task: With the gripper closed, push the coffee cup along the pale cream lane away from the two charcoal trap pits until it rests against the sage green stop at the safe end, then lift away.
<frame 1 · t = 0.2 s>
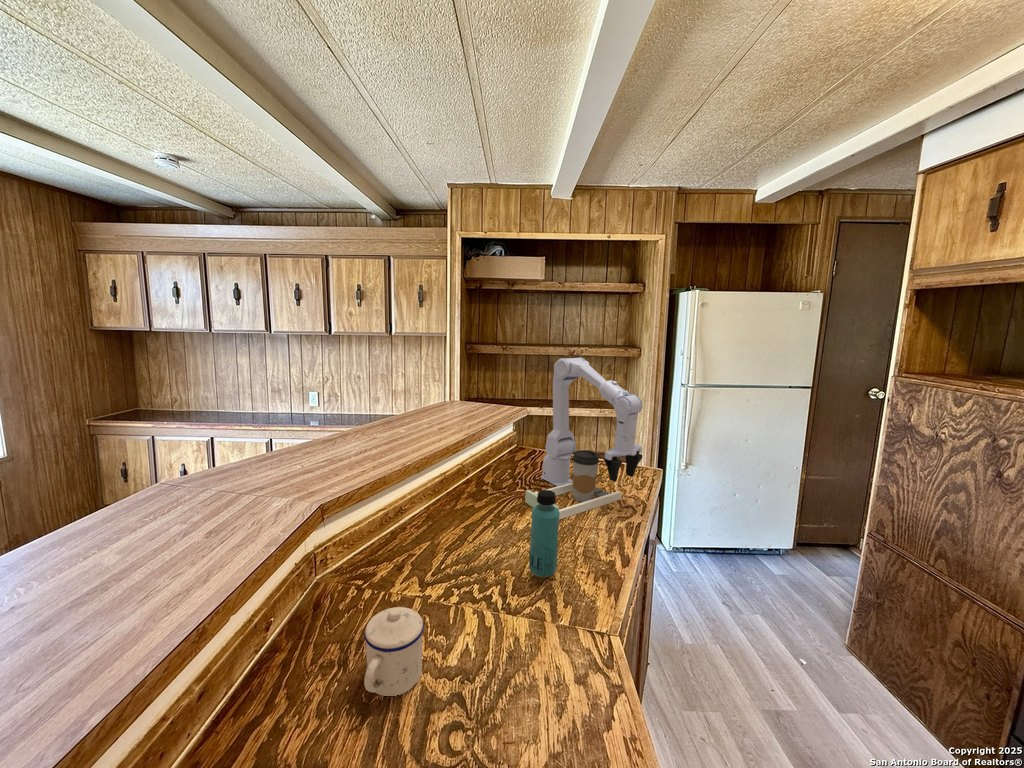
hand: (621, 478, 134), 10 cm above the table, tool pointing down, fingers open, 7 cm apart
coffee cup: (582, 498, 142), on the table
trap pits: (598, 493, 146), on the table
teacup with lid: (389, 683, 70), on the table
lane box: (573, 501, 140), on the table
beverage bottle: (541, 576, 100), on the table
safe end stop: (541, 511, 132), on the table
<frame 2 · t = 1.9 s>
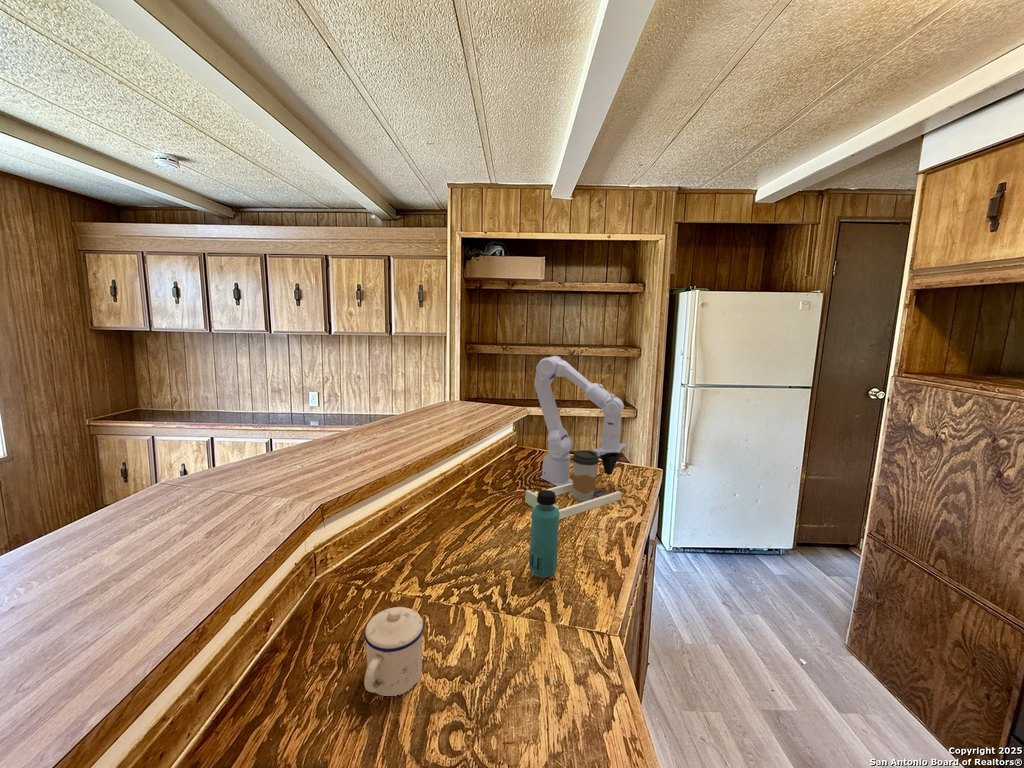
hand: (608, 473, 147), 6 cm above the table, tool pointing down, fingers closed
nothing on the table moved.
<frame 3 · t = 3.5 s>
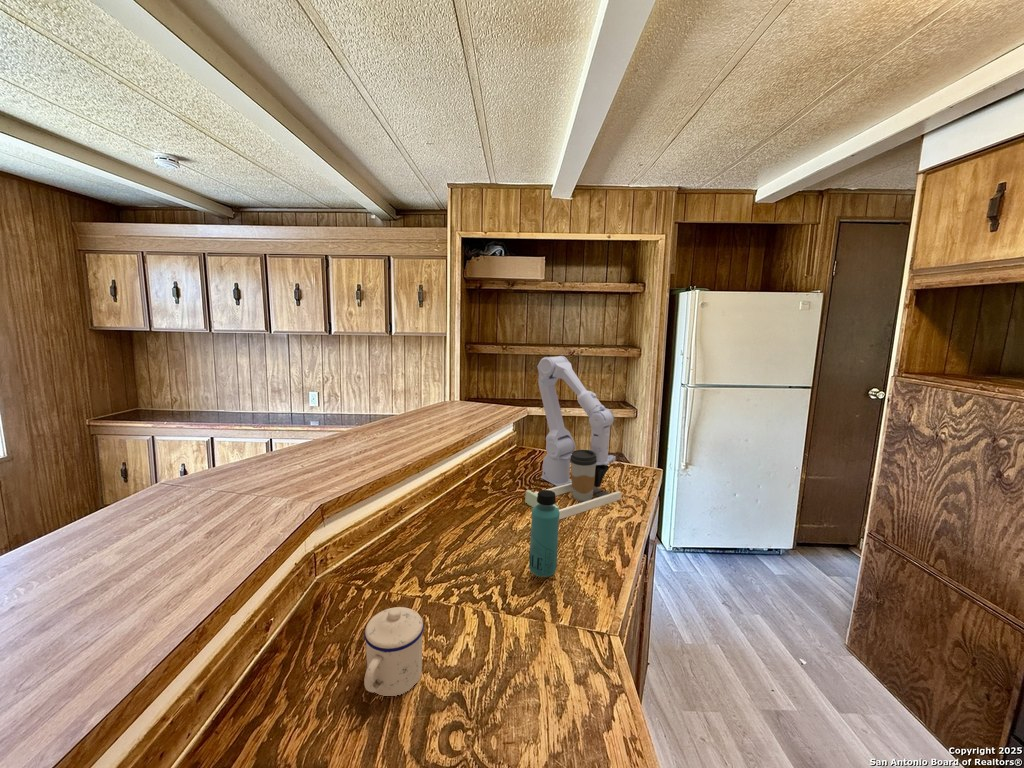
hand: (596, 486, 145), 3 cm above the table, tool pointing down, fingers closed
coffee cup: (582, 498, 142), on the table, touching gripper
everything else where it was.
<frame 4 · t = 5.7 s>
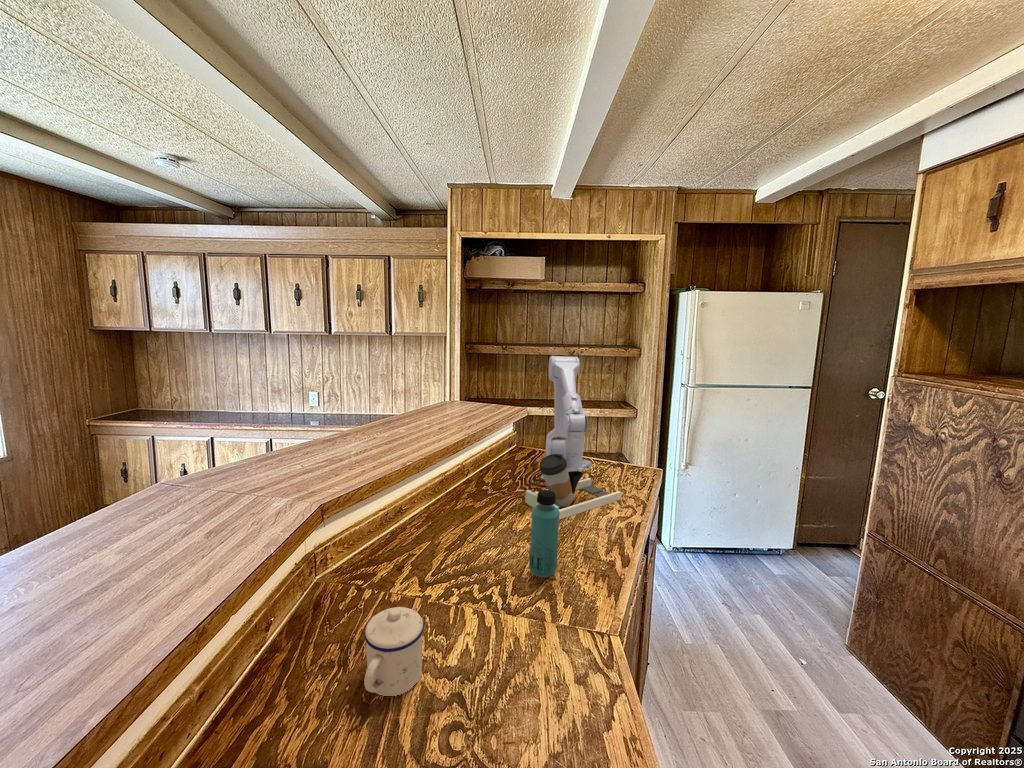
hand: (571, 493, 138), 3 cm above the table, tool pointing down, fingers closed, pressing on coffee cup
coffee cup: (563, 501, 137), point 1 cm above the table, touching gripper
everything else where it was.
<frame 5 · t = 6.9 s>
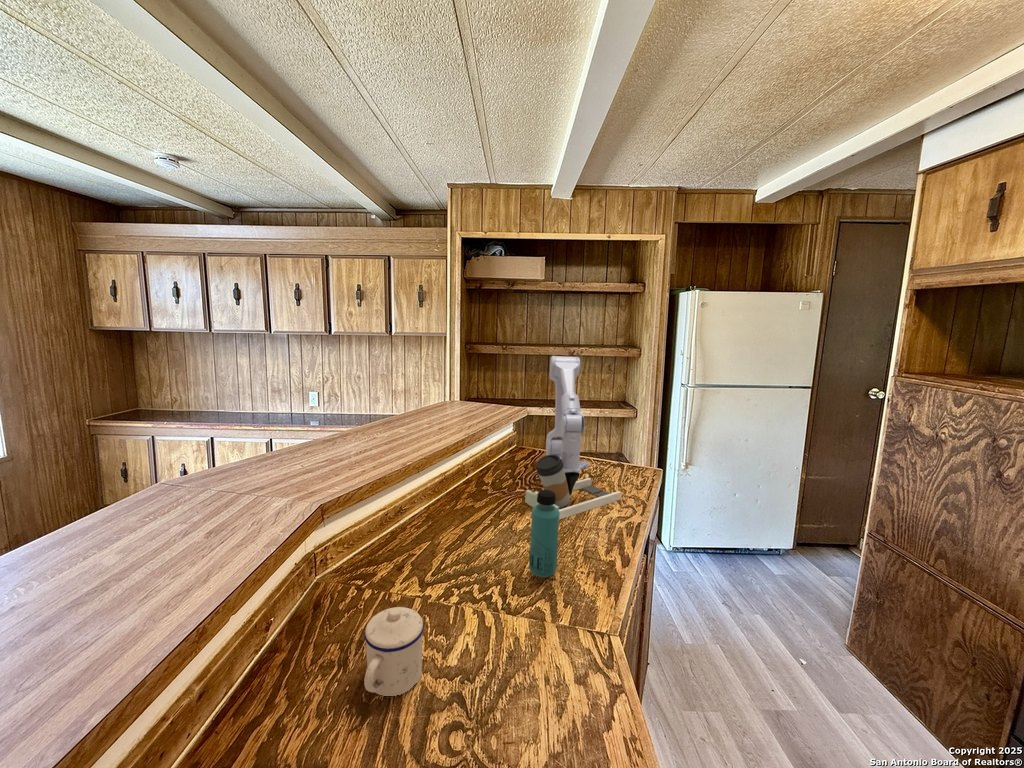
hand: (568, 494, 137), 3 cm above the table, tool pointing down, fingers closed, pressing on coffee cup
coffee cup: (560, 502, 136), point 1 cm above the table, touching gripper
everything else where it was.
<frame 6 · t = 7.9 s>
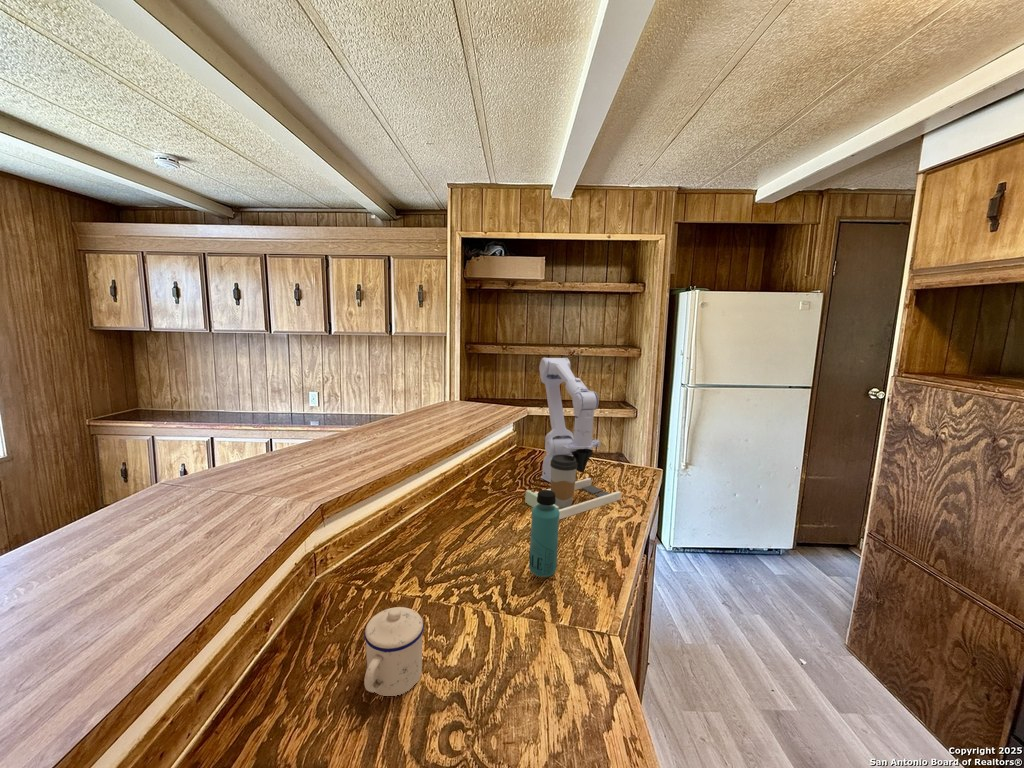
hand: (580, 471, 140), 9 cm above the table, tool pointing down, fingers closed
coffee cup: (561, 505, 136), on the table
everything else where it was.
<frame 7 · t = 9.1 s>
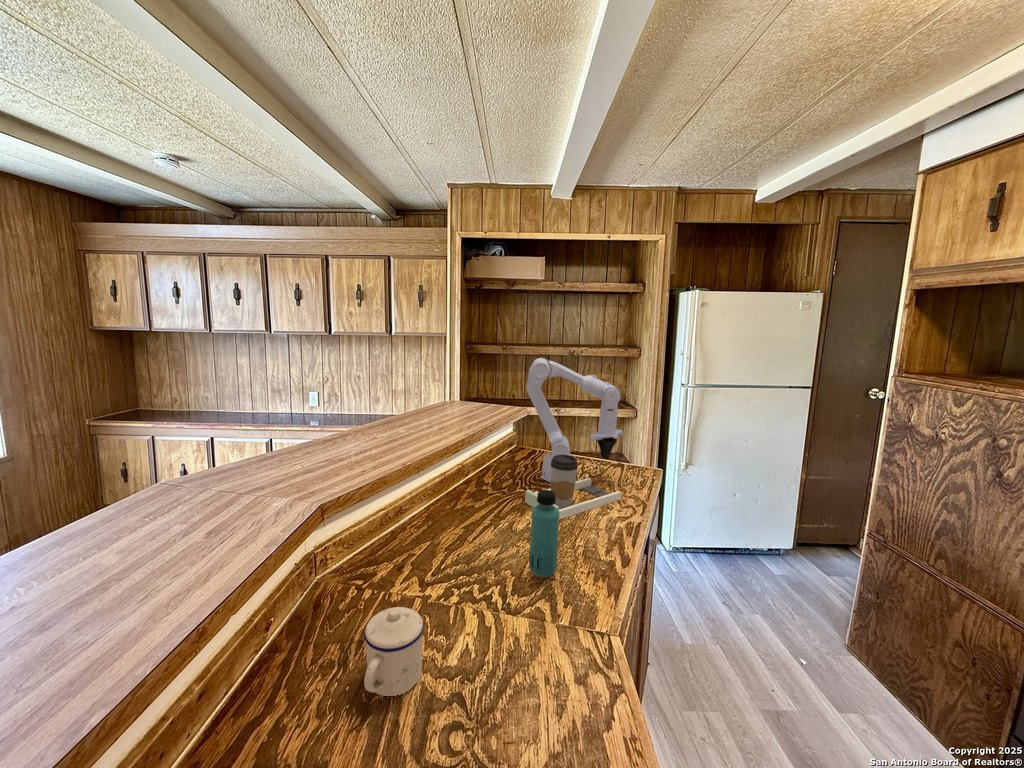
hand: (605, 458, 153), 9 cm above the table, tool pointing down, fingers closed
nothing on the table moved.
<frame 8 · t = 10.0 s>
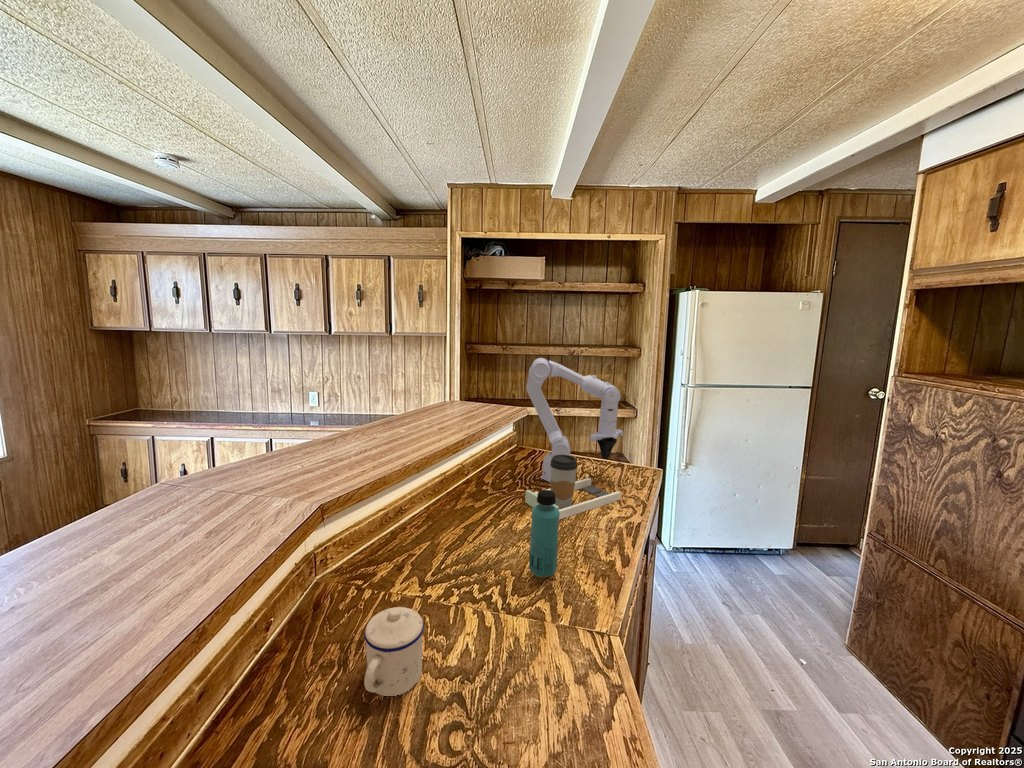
hand: (605, 458, 153), 9 cm above the table, tool pointing down, fingers closed
nothing on the table moved.
at the end: coffee cup inside the target area (3.7 cm from its centre), on the table; coffee cup tilted 0°; coffee cup touching table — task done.
